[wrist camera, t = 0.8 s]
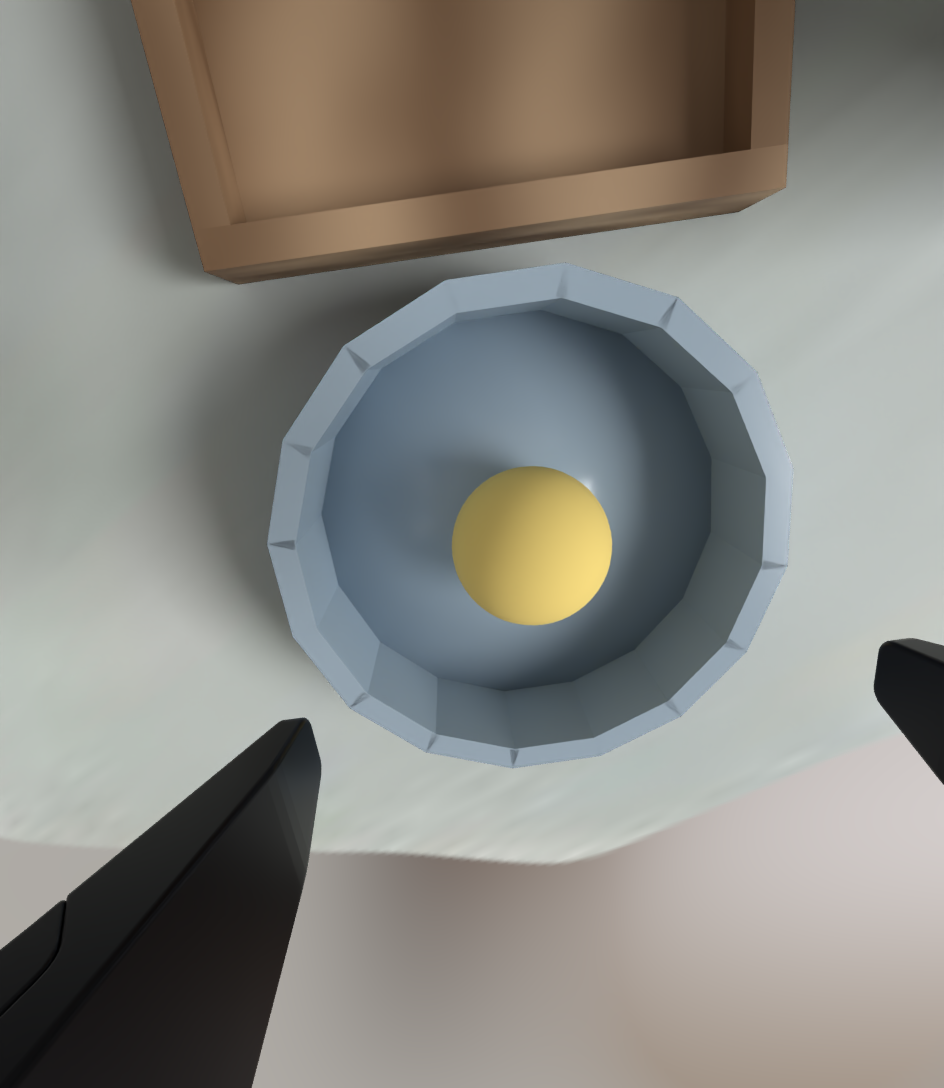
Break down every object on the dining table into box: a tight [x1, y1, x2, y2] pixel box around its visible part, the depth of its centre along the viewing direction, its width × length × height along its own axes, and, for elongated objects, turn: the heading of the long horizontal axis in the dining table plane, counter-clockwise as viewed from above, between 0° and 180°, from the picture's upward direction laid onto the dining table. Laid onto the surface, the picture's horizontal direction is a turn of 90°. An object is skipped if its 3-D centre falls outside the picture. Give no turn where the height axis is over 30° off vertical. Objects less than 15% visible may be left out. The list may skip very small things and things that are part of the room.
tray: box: [131, 0, 795, 284], centre depth 14 cm, size 16×10×2 cm, turn 98°
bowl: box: [267, 262, 794, 768], centre depth 18 cm, size 16×16×4 cm
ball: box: [452, 466, 612, 625], centre depth 17 cm, size 5×5×5 cm
